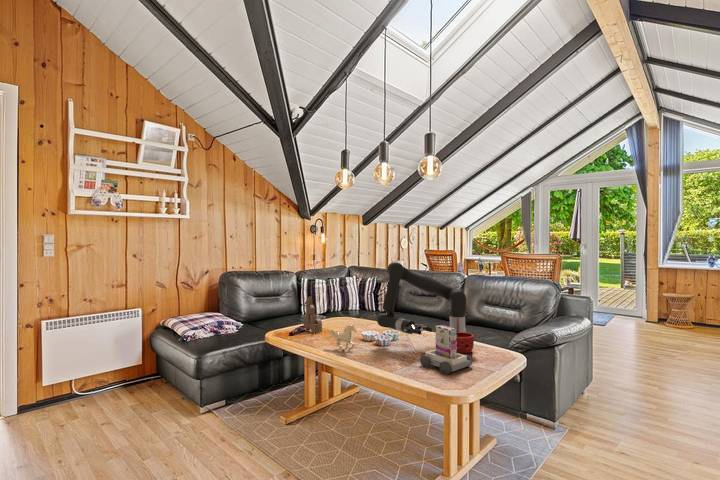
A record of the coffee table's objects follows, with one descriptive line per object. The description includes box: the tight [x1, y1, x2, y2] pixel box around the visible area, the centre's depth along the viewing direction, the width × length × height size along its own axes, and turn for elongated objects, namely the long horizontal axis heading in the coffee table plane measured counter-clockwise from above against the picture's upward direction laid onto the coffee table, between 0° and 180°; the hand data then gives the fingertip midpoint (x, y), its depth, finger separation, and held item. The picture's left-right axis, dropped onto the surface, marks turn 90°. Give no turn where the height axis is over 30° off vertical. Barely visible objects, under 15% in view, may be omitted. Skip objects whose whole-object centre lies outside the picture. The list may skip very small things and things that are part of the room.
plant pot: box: [457, 332, 475, 358], centre depth 213 cm, size 13×13×12 cm
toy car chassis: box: [419, 348, 473, 375], centre depth 196 cm, size 18×20×6 cm
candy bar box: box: [435, 324, 457, 359], centre depth 195 cm, size 11×5×16 cm, turn 29°
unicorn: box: [329, 323, 358, 351], centre depth 226 cm, size 20×4×17 cm, turn 57°
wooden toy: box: [302, 296, 323, 334], centre depth 271 cm, size 16×7×25 cm, turn 43°
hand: (426, 331), depth 206 cm, fingers open, 8 cm apart
